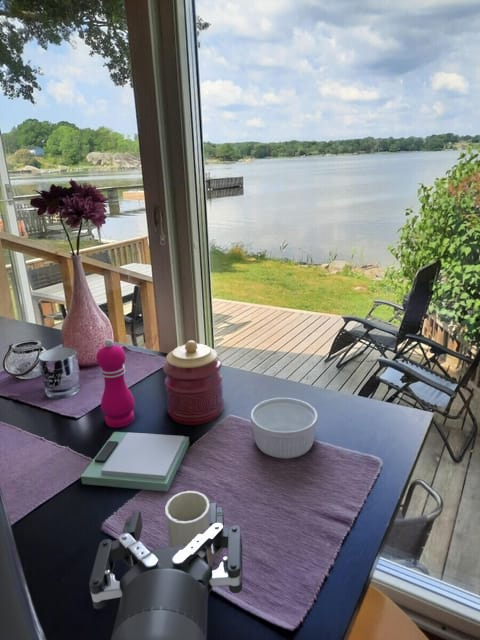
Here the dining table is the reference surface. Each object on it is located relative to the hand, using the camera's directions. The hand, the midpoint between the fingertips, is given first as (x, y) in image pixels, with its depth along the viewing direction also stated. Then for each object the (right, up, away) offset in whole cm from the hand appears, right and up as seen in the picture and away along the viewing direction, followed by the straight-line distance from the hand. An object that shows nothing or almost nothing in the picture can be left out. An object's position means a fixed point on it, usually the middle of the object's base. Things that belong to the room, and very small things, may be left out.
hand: (176, 513), depth 50 cm
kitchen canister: (-3, 0, +52) cm, 52 cm away
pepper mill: (-20, -1, +49) cm, 53 cm away
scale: (-12, -6, +35) cm, 37 cm away
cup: (0, -13, +13) cm, 19 cm away
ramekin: (+16, -3, +40) cm, 43 cm away
